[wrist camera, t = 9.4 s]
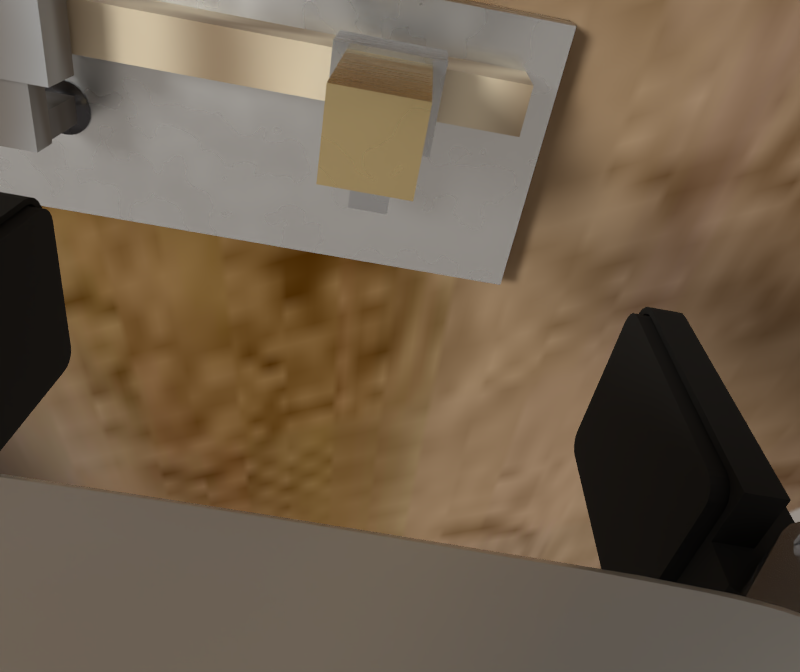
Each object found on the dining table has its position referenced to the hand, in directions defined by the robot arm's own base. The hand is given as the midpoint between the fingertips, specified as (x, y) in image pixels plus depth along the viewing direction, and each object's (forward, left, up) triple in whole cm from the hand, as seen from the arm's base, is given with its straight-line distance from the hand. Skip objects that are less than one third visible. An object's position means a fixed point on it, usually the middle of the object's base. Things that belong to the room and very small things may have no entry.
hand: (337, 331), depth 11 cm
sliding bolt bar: (+6, +2, -20) cm, 21 cm away
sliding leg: (0, +2, -19) cm, 19 cm away
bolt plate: (+7, +3, -21) cm, 23 cm away
